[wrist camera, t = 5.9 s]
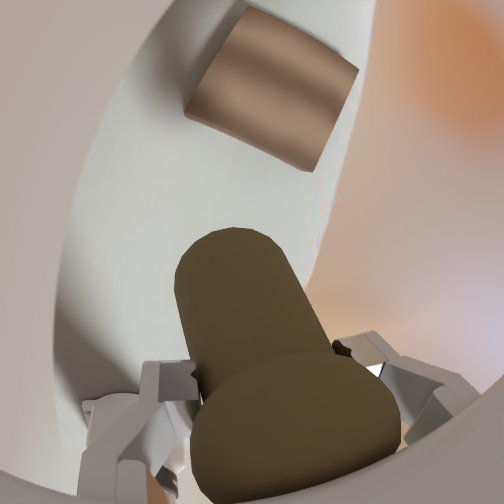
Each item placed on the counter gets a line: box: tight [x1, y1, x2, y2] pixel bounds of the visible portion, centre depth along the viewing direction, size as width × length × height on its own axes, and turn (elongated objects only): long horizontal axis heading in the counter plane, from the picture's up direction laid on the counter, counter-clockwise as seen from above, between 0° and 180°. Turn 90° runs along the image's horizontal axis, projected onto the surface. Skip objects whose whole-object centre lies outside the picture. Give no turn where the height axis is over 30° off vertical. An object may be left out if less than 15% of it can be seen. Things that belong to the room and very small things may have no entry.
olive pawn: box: [174, 227, 401, 504], centre depth 9 cm, size 6×6×11 cm
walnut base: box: [185, 6, 359, 173], centre depth 23 cm, size 13×13×3 cm
